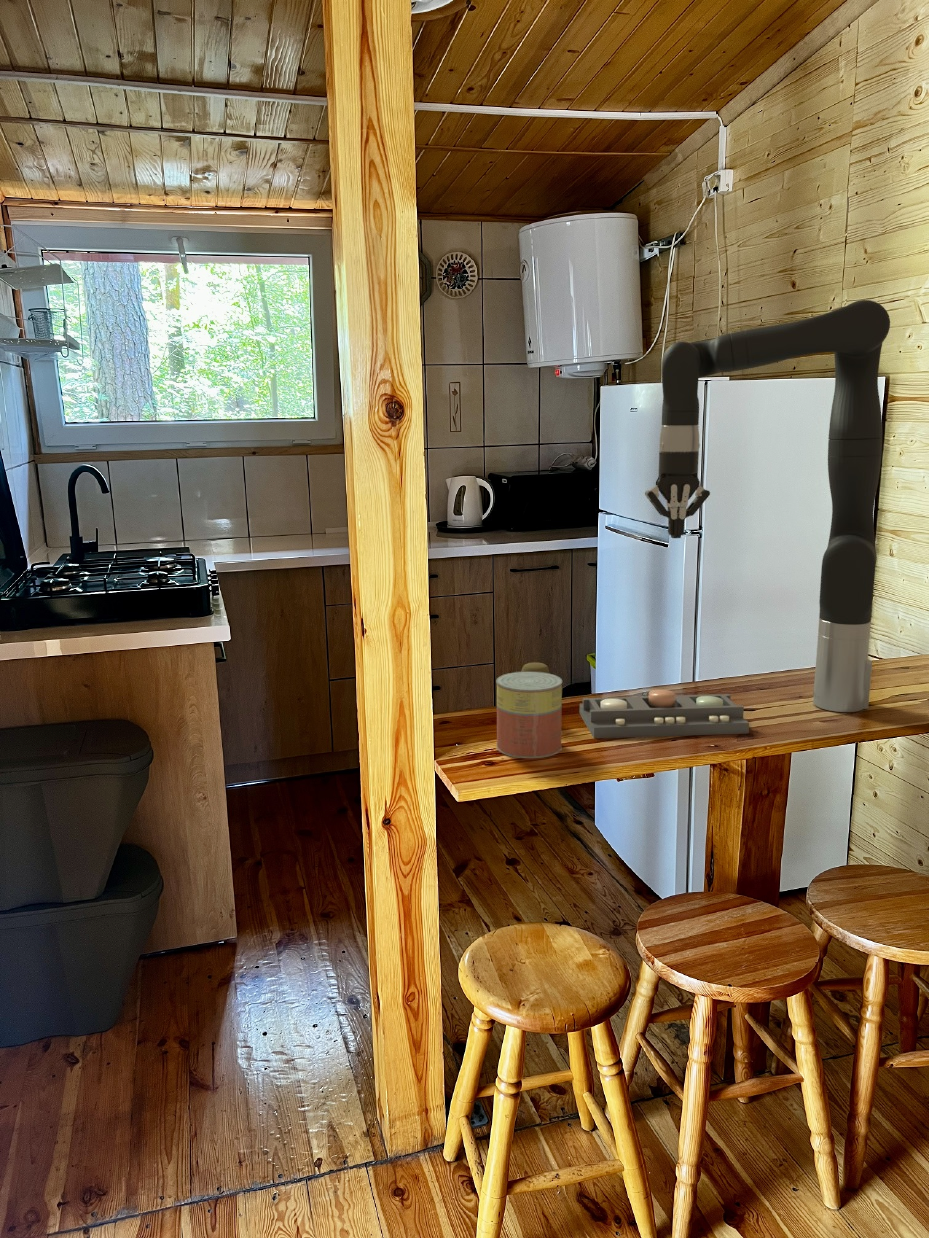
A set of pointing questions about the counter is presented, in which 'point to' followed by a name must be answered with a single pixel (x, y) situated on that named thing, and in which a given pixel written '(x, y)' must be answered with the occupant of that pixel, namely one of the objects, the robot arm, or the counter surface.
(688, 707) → the console
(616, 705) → the button one
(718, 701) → the button two
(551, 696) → the canned food
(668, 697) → the button three
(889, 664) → the counter surface
